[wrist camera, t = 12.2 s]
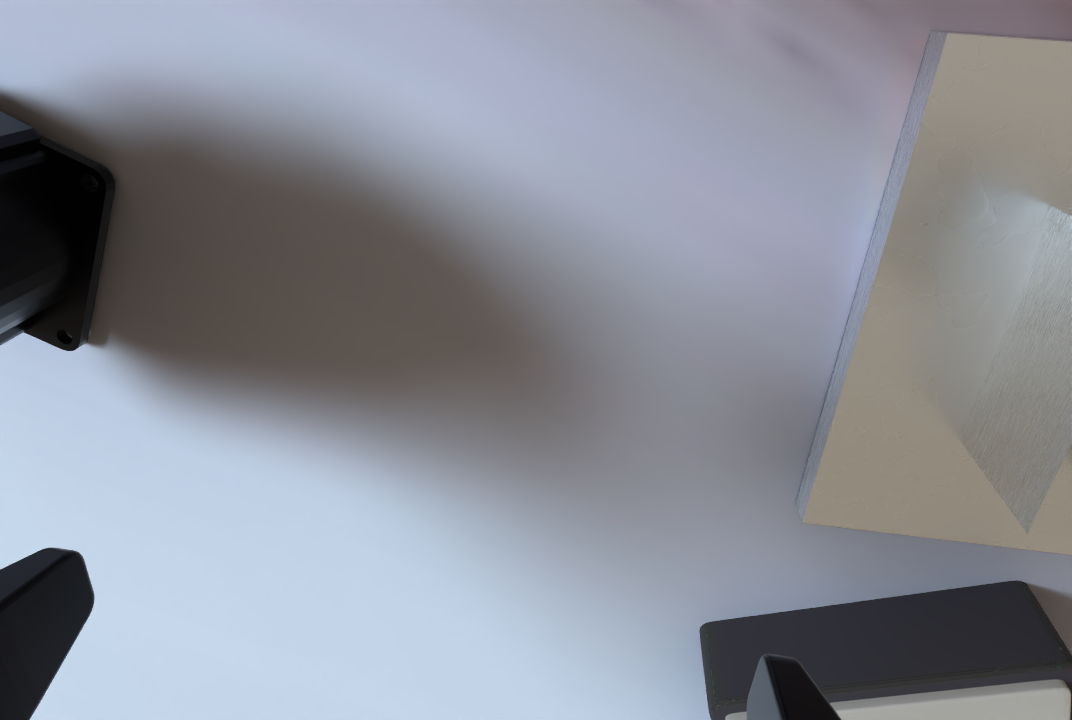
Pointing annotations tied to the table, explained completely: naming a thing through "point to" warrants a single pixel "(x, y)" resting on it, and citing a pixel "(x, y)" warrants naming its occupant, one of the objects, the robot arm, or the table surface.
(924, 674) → the calculator
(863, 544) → the table surface
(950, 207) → the sleeve stand
